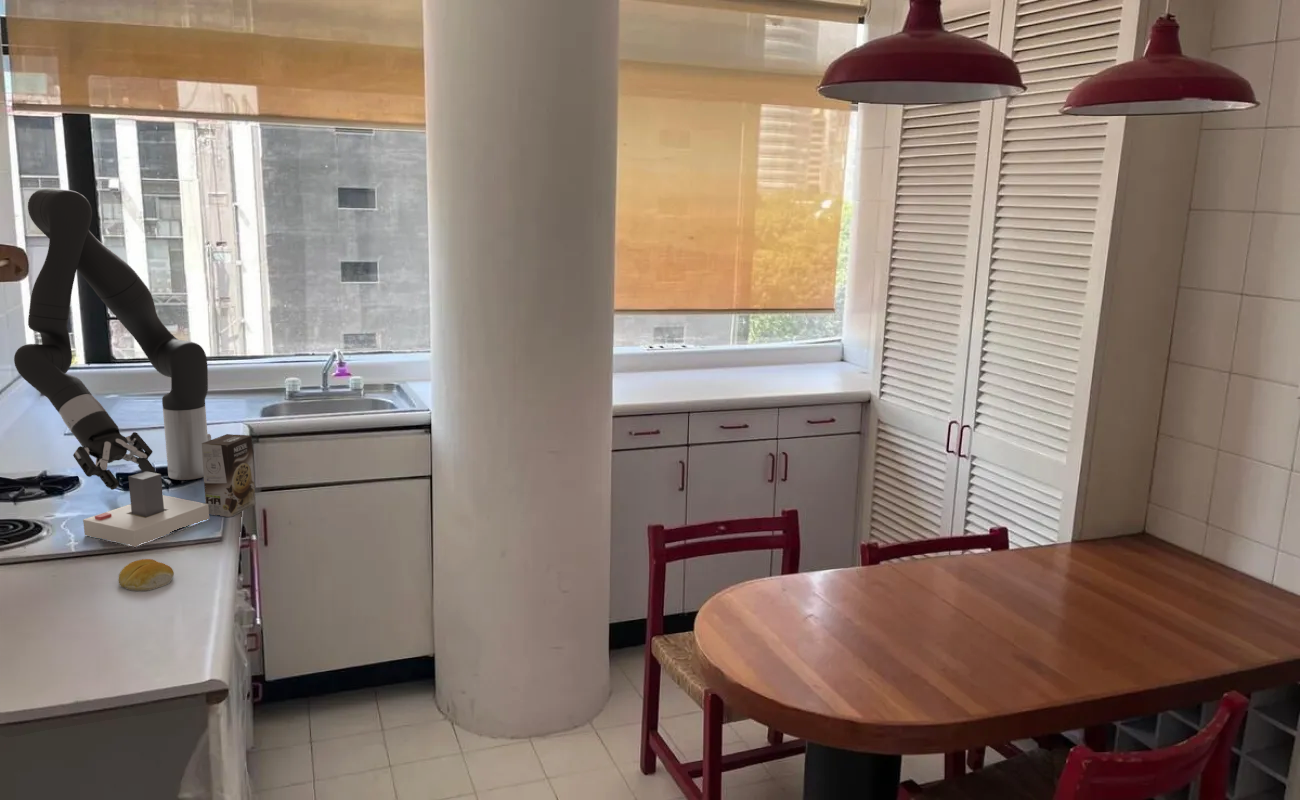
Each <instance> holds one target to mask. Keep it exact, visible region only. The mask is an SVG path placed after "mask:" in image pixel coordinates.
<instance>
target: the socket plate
mask: <svg viewBox="0 0 1300 800" xmlns="http://www.w3.org/2000/svg"><path fill="white" fill-rule="evenodd" d="M163 504H164V511H163V512H161V513H158V514H155V515H153V516H150V517H147V518H144V517H139V516H135V514H132V511H131V503H130V504H127V505H124V506H123V505H122V506H121V507H118V508H114V509H112V510H111V509H110V510H108V511H106V512H105V511H104V512H102V513H99V514H96V515H93V516H90V517H86V518H84V519H82V521H83V523H82V524H83V529H84V530H83V531H84V536H85V535H87V536H91V537H96V538H102V539H107V540H111V541H116V542H120V543H126V544H130V545H132V546H134V547H136V546H137V545H139V544H141V543H144V542H148V541H150V540H153V539H155V538H158V537H161V536H164V535H166V534H169V533H170V532H172V531H174V530H177V529H179V528H182V527H186V526H188V525H191V524H194V523H198V522H200V521H203V520H207V519H209V520H210V515H209V507H208V504H205V502H198V501H195V500H189V499H184V498H179V497H174V496H169V495H164V494H163ZM87 536H86V537H87ZM91 537H90V538H91ZM134 547H133V548H134ZM136 548H137V547H136Z"/></svg>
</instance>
